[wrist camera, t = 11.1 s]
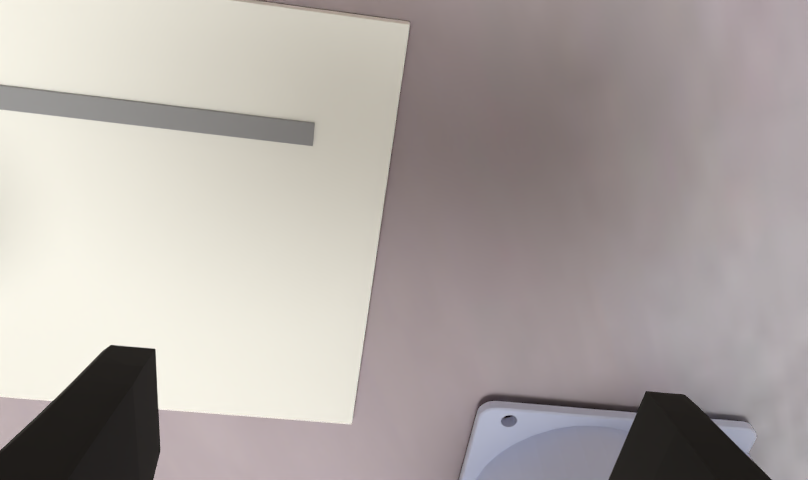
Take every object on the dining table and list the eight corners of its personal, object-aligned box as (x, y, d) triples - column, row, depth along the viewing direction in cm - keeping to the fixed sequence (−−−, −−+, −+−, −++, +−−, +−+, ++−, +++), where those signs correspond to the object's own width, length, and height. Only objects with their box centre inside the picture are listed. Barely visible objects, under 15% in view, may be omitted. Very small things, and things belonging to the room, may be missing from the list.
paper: (409, 21, 17) (410, 25, 16) (352, 417, 23) (351, 426, 23) (-332, -81, 15) (-348, -78, 15) (-168, 376, 22) (-177, 385, 21)
